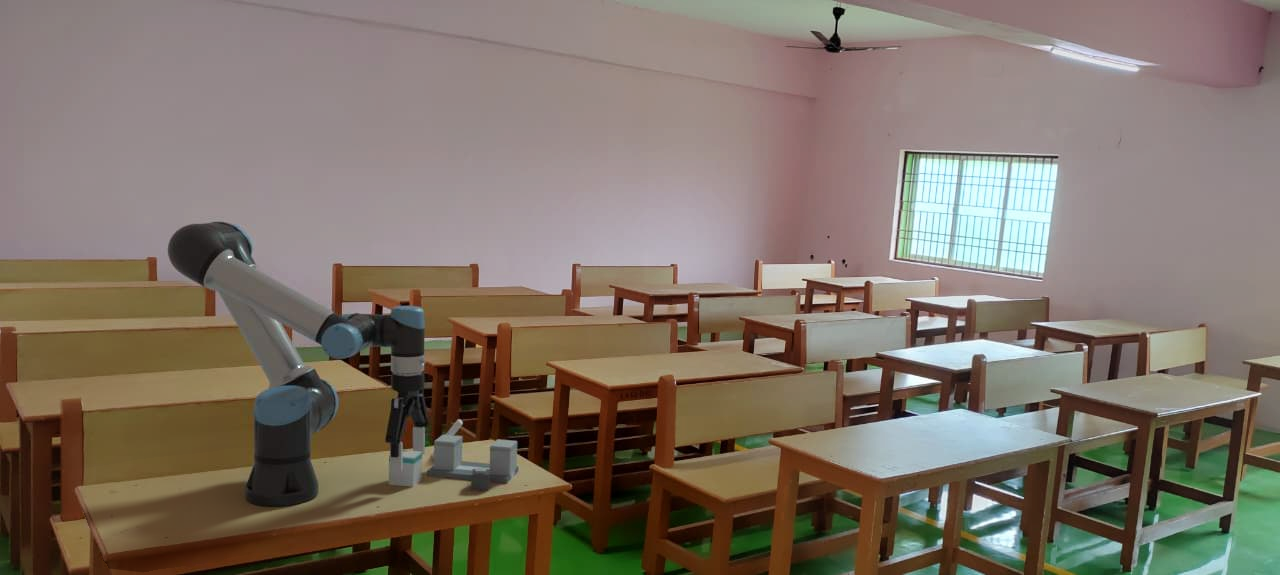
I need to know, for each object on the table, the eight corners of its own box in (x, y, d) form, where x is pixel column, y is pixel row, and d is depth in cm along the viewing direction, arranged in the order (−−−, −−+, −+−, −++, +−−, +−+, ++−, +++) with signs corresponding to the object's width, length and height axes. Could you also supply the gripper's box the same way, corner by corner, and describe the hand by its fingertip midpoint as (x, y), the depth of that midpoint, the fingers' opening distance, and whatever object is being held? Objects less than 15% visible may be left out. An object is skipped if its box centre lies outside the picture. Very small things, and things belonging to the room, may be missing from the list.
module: (388, 484, 216) (389, 455, 215) (397, 478, 221) (397, 449, 220) (413, 487, 215) (414, 457, 215) (421, 480, 220) (422, 451, 220)
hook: (481, 440, 238) (459, 427, 235) (452, 475, 239) (430, 462, 236) (478, 427, 245) (457, 414, 242) (450, 461, 246) (428, 448, 243)
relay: (470, 491, 215) (471, 471, 214) (472, 485, 219) (472, 466, 218) (488, 491, 215) (489, 472, 215) (489, 485, 219) (489, 466, 219)
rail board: (426, 475, 224) (427, 442, 223) (441, 463, 234) (442, 432, 233) (507, 483, 221) (508, 449, 220) (518, 471, 231) (519, 438, 230)
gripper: (402, 384, 203) (402, 478, 205) (442, 363, 227) (441, 448, 230) (369, 382, 204) (369, 476, 206) (412, 362, 228) (412, 446, 231)
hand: (407, 461), depth 218 cm, fingers open, 13 cm apart
